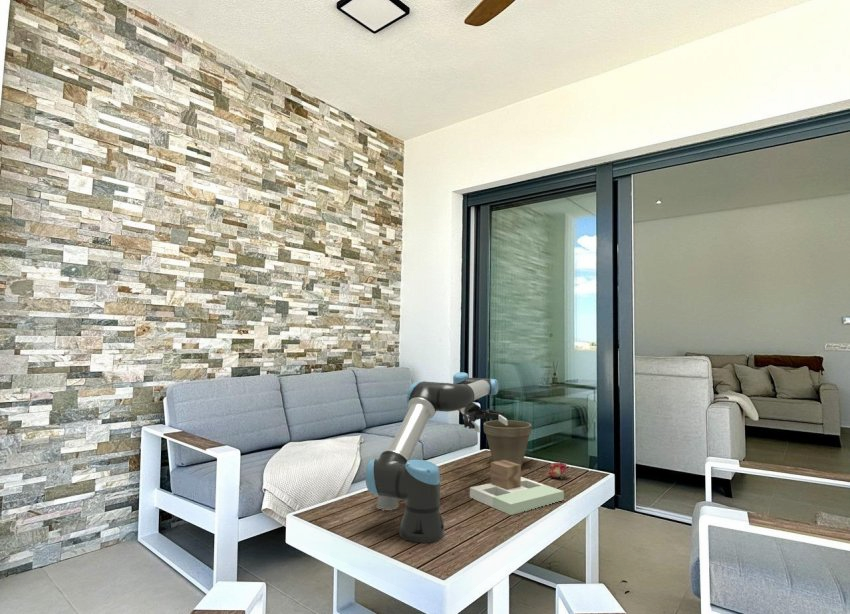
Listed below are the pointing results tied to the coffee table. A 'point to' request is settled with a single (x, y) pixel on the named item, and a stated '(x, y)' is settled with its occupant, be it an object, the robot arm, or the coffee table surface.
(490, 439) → the plant pot
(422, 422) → the robot arm
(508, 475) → the walnut block
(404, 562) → the coffee table surface
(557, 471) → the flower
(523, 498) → the box
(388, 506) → the glass holder
